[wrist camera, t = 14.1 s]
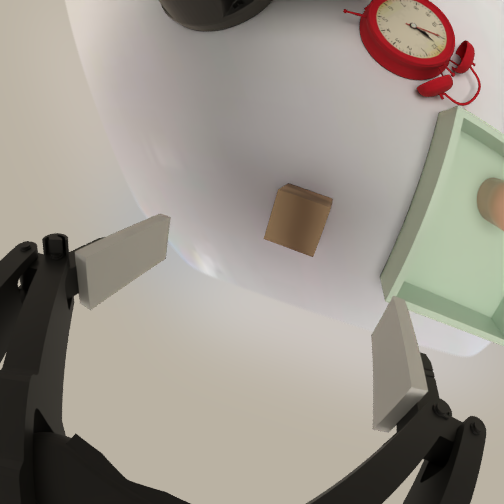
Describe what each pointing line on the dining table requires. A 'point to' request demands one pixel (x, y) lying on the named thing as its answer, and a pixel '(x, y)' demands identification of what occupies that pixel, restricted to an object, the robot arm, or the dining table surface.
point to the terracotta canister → (492, 201)
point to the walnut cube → (298, 219)
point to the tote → (453, 233)
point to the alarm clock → (414, 43)
